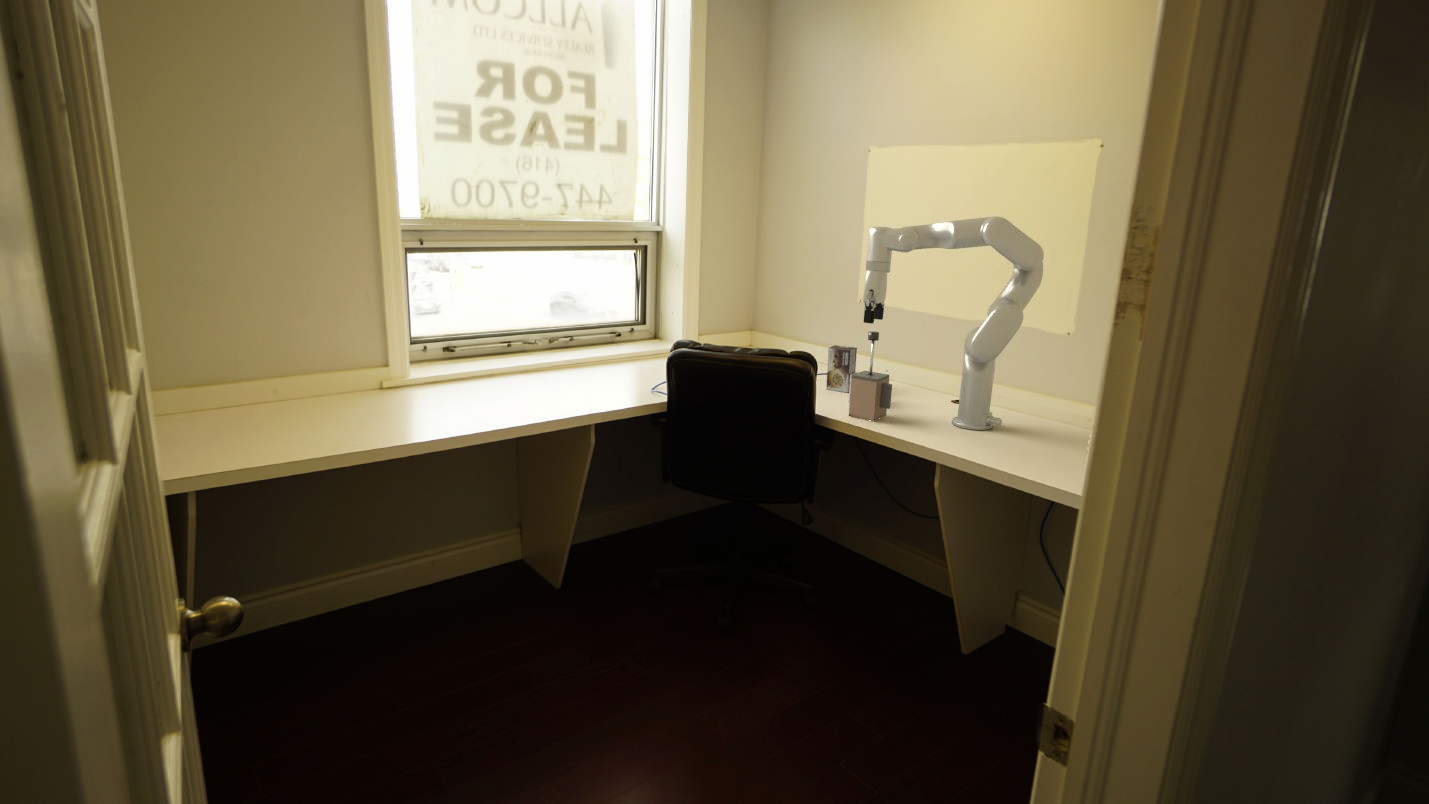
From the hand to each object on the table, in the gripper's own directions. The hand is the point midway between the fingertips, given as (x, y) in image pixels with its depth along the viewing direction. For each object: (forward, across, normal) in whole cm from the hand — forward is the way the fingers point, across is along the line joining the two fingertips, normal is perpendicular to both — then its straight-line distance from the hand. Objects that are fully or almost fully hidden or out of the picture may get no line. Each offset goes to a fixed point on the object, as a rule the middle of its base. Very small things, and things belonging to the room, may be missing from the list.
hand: (873, 321), depth 247 cm
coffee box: (+32, -30, -19) cm, 48 cm away
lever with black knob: (+20, 0, +1) cm, 20 cm away
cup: (+32, -16, -7) cm, 36 cm away
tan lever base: (+32, 0, +2) cm, 32 cm away
